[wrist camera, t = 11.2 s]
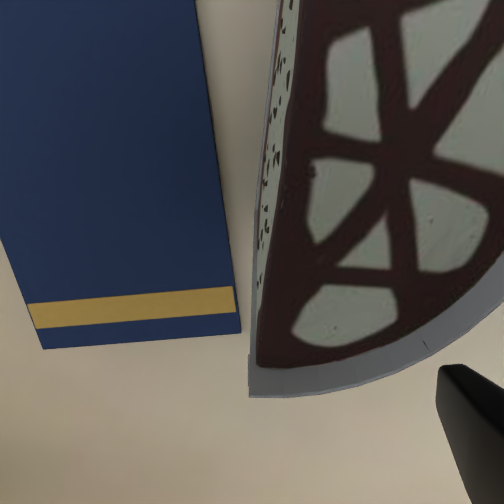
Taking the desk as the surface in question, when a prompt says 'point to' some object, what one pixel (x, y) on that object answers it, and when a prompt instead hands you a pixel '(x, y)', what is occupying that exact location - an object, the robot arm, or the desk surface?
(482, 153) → the food container
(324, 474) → the desk surface
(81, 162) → the book
